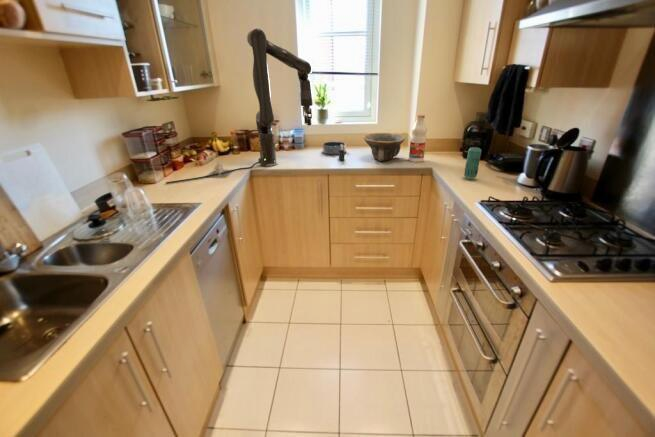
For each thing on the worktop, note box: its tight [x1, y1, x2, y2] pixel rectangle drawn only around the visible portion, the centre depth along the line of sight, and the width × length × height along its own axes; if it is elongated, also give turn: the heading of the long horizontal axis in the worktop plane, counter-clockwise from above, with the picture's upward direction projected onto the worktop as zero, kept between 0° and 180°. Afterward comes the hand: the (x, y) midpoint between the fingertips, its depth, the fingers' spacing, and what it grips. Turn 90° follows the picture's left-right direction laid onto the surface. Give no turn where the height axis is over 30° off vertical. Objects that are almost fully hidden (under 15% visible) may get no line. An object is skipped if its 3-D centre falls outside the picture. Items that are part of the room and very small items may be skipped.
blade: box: [338, 144, 345, 162], centre depth 207 cm, size 3×5×10 cm, turn 9°
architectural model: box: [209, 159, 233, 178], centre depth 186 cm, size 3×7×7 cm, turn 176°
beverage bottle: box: [463, 140, 483, 179], centre depth 164 cm, size 6×7×20 cm
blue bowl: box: [322, 141, 347, 155], centre depth 229 cm, size 17×17×6 cm
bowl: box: [363, 132, 406, 162], centre depth 206 cm, size 27×26×15 cm
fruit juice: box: [408, 114, 428, 163], centre depth 199 cm, size 9×9×28 cm
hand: (307, 124), depth 204 cm, fingers open, 8 cm apart
